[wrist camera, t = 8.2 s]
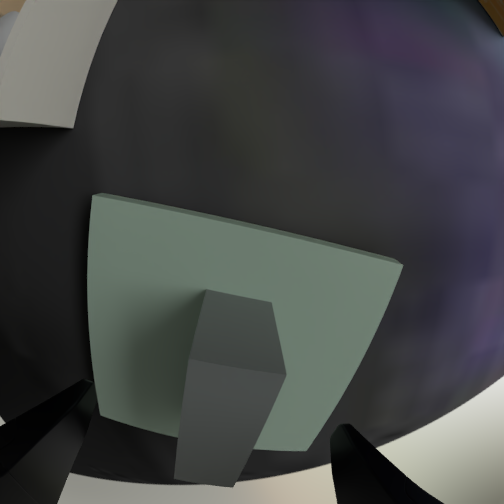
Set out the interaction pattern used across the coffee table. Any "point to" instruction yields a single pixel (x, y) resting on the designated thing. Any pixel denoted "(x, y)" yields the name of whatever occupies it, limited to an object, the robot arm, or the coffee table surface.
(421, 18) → the coffee table surface
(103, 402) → the lid
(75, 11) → the storage box
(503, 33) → the small box
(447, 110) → the coffee table surface
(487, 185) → the coffee table surface
